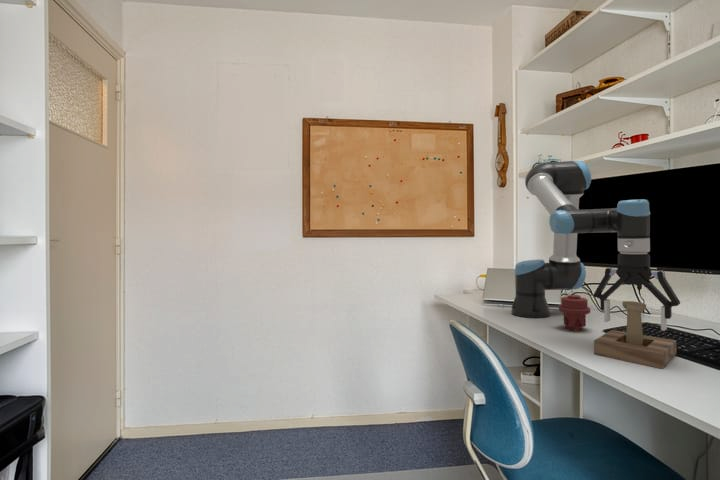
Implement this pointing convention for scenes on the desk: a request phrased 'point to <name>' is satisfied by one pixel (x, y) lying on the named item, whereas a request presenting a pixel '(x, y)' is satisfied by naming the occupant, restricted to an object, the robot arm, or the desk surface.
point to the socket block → (636, 349)
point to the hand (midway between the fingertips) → (634, 325)
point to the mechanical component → (574, 311)
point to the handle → (634, 322)
